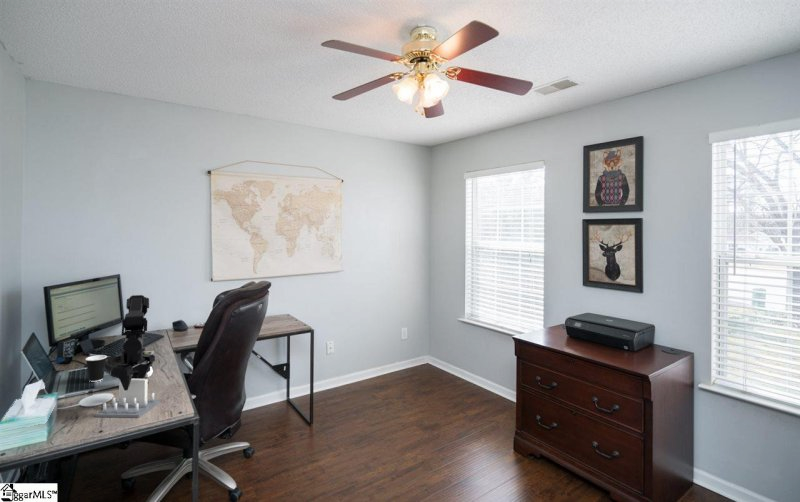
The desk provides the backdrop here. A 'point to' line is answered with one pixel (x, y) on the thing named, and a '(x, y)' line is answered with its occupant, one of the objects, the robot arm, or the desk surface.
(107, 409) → the dish rack
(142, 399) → the white rectangular slab
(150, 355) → the robot arm
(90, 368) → the dixie cup
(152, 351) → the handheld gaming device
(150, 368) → the bust
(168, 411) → the desk surface
